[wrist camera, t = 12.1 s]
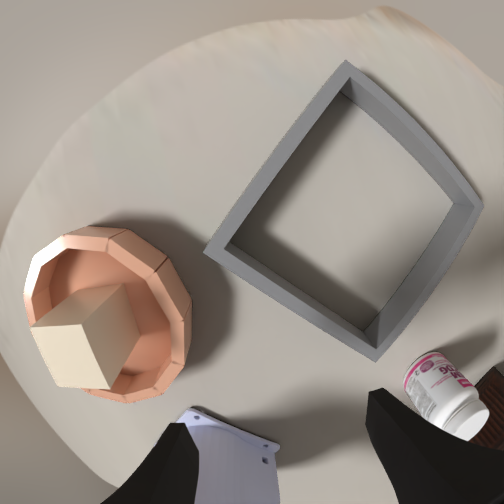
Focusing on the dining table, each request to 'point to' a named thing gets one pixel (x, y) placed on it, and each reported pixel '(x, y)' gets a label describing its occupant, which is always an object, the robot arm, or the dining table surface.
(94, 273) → the bowl
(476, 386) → the manual coffee grinder
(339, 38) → the dining table surface
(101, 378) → the sandstone block
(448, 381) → the pill bottle
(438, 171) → the tray
